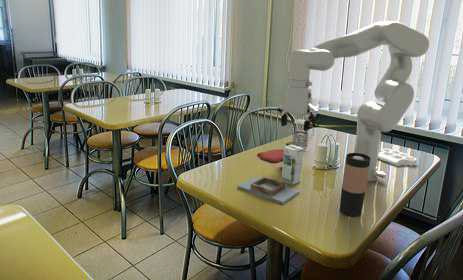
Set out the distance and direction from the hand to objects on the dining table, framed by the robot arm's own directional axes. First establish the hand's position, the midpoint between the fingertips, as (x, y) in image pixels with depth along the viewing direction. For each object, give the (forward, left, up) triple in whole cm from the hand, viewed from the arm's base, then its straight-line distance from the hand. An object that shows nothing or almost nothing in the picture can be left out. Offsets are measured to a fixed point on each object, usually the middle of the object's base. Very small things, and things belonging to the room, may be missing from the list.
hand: (294, 127), depth 141 cm
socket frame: (+2, +14, -22) cm, 26 cm away
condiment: (+7, -10, -23) cm, 25 cm away
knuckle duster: (-25, -57, -23) cm, 67 cm away
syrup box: (0, 0, -22) cm, 22 cm away
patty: (+20, -21, -23) cm, 37 cm away
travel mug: (-28, +9, -22) cm, 37 cm away
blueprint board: (+2, +14, -22) cm, 26 cm away
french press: (+17, -41, -22) cm, 50 cm away
